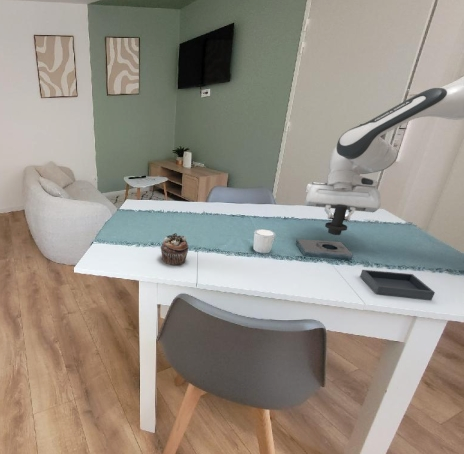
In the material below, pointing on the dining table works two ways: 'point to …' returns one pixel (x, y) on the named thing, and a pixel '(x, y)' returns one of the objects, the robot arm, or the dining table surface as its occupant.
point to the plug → (337, 221)
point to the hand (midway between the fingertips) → (338, 219)
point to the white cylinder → (263, 240)
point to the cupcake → (174, 249)
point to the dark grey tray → (396, 284)
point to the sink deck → (324, 249)
